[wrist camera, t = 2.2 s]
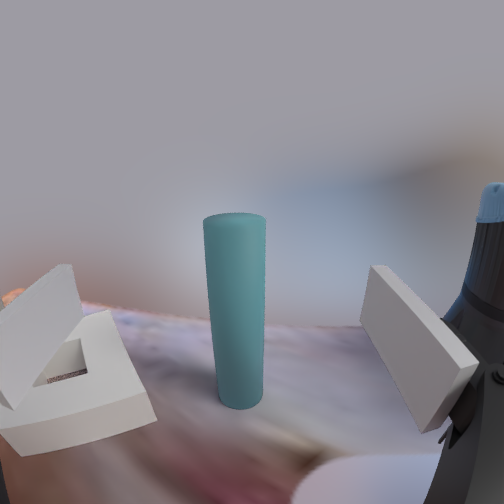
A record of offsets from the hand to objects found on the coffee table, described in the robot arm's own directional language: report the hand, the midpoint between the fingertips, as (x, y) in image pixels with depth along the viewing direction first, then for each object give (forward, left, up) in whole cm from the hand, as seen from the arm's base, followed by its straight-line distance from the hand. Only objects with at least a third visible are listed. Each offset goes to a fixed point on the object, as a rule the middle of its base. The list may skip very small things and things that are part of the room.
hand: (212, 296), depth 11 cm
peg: (+8, -6, -17) cm, 20 cm away
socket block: (+17, +11, -17) cm, 27 cm away
